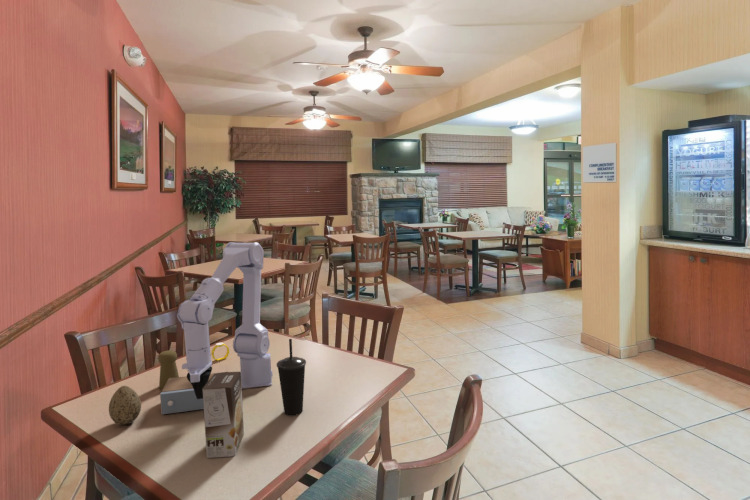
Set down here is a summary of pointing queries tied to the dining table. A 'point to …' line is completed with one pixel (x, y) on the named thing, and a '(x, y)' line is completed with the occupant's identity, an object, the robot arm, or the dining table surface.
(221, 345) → the watch
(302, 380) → the drinking cup
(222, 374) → the coffee box
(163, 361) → the cork
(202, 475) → the dining table surface
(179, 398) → the cabinet door
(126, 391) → the decorative egg
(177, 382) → the cabinet
